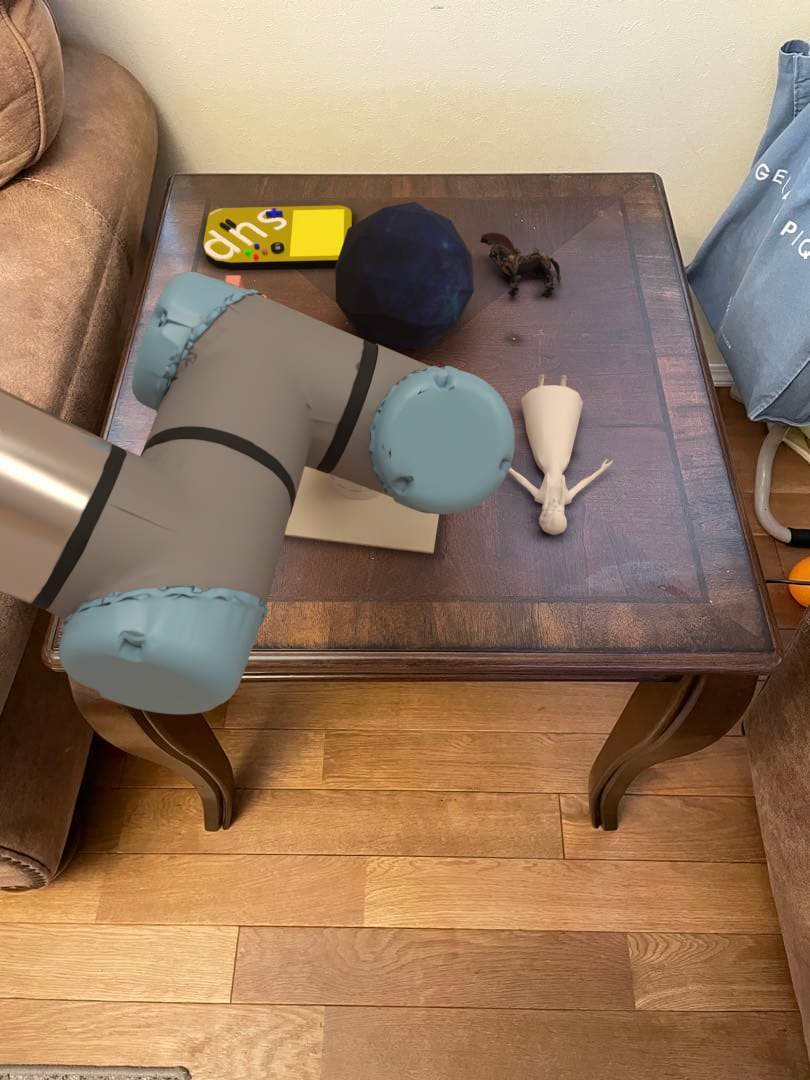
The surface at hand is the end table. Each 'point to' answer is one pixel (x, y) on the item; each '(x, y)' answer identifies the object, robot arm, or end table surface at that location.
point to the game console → (276, 237)
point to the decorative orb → (403, 277)
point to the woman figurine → (553, 448)
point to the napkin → (357, 518)
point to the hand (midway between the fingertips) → (351, 422)
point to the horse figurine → (520, 262)
